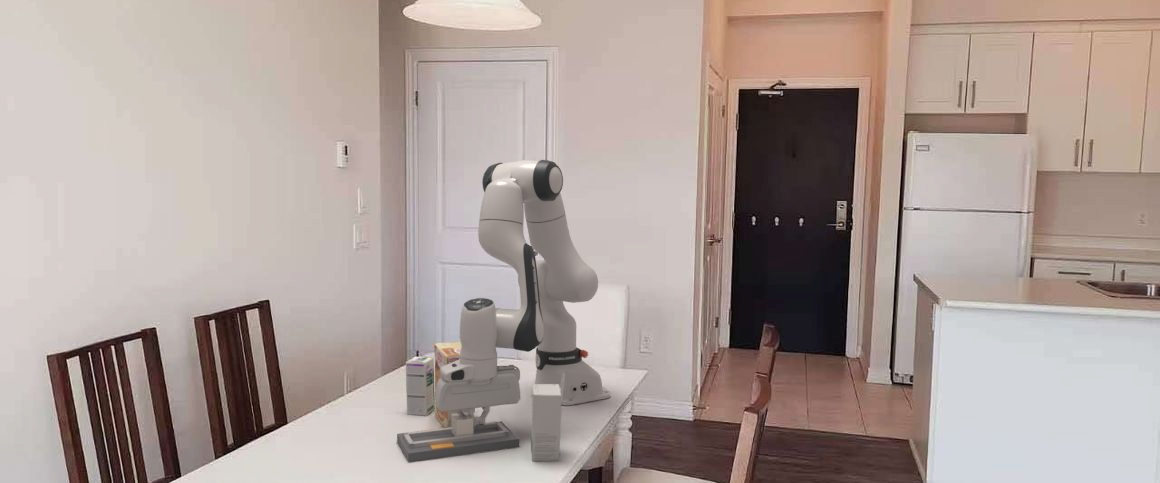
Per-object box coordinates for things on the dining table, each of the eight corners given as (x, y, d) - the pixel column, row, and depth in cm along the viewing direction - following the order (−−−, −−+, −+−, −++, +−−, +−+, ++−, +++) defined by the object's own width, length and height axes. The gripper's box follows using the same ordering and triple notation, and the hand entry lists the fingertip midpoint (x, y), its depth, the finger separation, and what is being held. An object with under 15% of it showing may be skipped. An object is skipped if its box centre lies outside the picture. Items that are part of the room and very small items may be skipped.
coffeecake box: (434, 415, 209) (433, 343, 207) (460, 413, 211) (460, 341, 210) (446, 433, 195) (445, 355, 193) (474, 430, 198) (474, 353, 196)
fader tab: (467, 430, 191) (467, 409, 190) (473, 437, 186) (473, 416, 186) (451, 432, 189) (451, 411, 189) (456, 439, 185) (456, 417, 184)
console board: (501, 428, 199) (501, 417, 199) (519, 447, 186) (519, 434, 186) (397, 441, 189) (396, 429, 188) (408, 462, 176) (408, 449, 176)
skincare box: (531, 448, 185) (531, 383, 184) (559, 448, 186) (559, 383, 184) (531, 462, 177) (532, 393, 175) (561, 461, 177) (562, 393, 176)
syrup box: (426, 416, 209) (426, 362, 207) (405, 414, 210) (405, 360, 208) (435, 409, 214) (434, 356, 213) (414, 408, 215) (414, 355, 214)
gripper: (515, 361, 195) (515, 416, 196) (433, 368, 186) (433, 425, 188) (524, 367, 189) (524, 423, 190) (439, 375, 181) (439, 434, 182)
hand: (478, 424), depth 189 cm, fingers closed
